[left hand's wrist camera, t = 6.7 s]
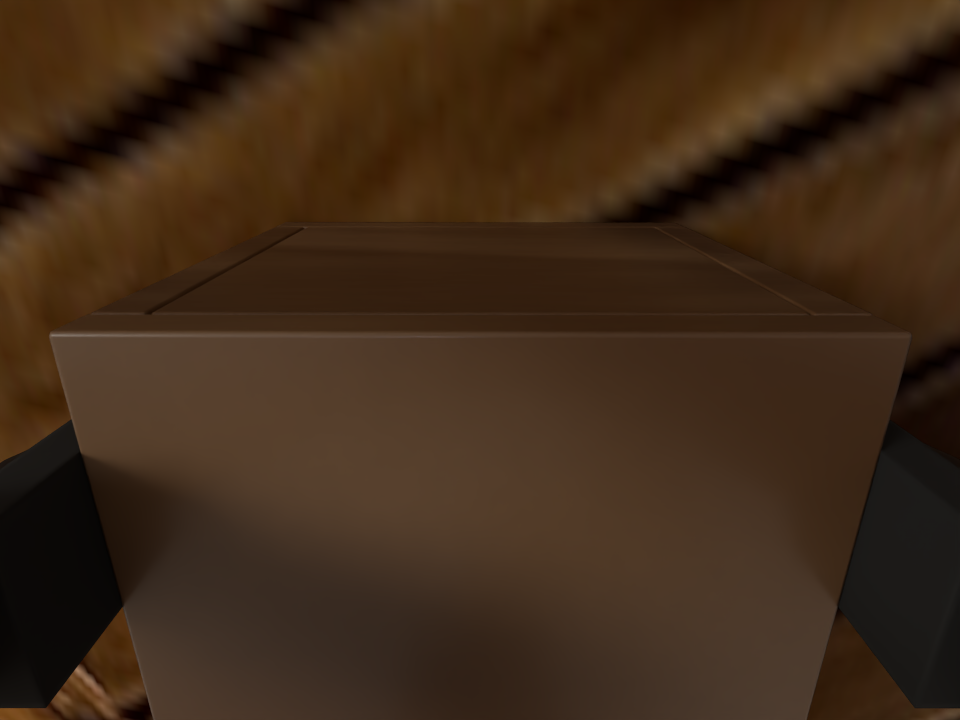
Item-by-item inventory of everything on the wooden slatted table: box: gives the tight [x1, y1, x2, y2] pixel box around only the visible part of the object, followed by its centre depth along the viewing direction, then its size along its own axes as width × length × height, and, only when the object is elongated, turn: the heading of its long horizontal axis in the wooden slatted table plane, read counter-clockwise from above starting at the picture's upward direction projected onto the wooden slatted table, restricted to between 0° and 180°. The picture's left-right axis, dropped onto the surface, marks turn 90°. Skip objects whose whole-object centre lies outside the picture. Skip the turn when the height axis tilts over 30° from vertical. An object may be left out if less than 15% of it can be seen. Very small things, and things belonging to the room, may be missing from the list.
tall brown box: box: [49, 222, 912, 720], centre depth 15 cm, size 18×11×10 cm, turn 0°
